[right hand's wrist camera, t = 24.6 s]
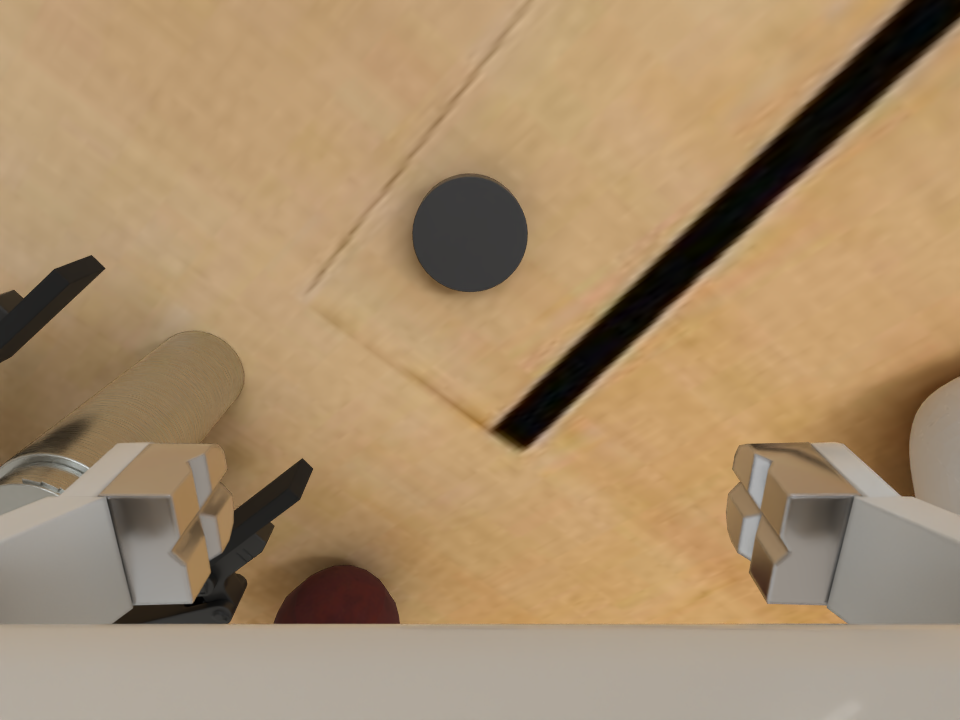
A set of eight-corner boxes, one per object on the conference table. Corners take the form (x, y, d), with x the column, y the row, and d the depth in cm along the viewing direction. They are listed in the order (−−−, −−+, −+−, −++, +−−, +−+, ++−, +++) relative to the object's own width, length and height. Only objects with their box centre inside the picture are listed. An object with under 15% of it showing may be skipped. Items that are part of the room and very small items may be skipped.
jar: (240, 418, 36) (102, 604, 23) (153, 401, 36) (-41, 582, 22) (248, 340, 35) (105, 490, 21) (158, 322, 34) (-50, 463, 20)
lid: (515, 163, 32) (517, 166, 30) (532, 273, 34) (535, 281, 32) (404, 184, 32) (401, 188, 30) (427, 292, 34) (425, 301, 32)
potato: (283, 630, 42) (249, 727, 35) (295, 532, 39) (261, 617, 32) (395, 645, 42) (383, 743, 36) (415, 550, 40) (405, 637, 33)
